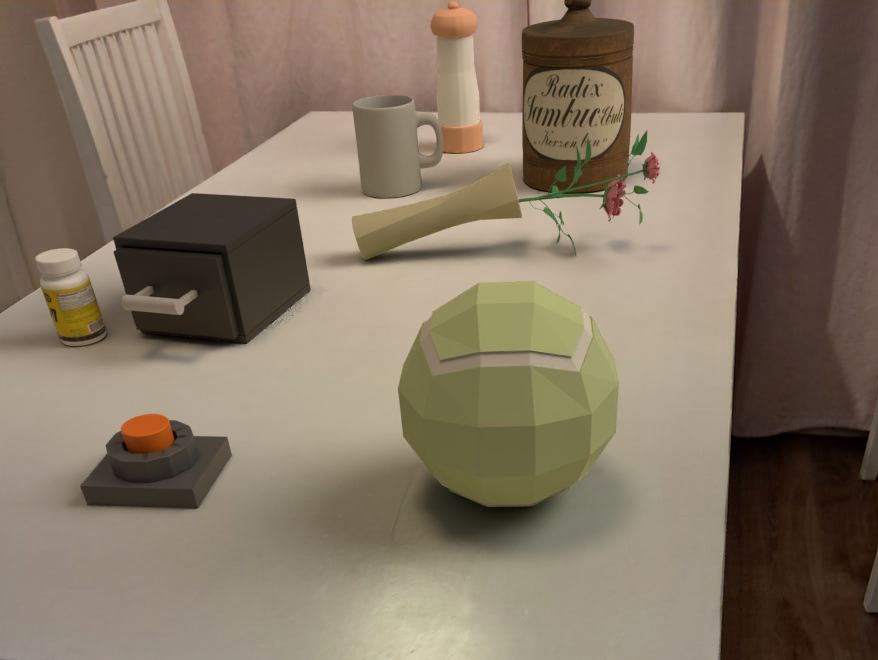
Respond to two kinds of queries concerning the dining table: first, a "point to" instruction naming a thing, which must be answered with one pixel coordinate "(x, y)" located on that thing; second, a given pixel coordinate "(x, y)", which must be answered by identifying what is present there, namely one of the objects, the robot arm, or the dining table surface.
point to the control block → (158, 472)
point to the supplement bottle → (70, 297)
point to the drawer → (177, 291)
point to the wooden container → (576, 98)
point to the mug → (392, 145)
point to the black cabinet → (236, 251)
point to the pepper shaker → (457, 79)
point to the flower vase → (485, 205)
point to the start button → (147, 433)
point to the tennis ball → (509, 394)
